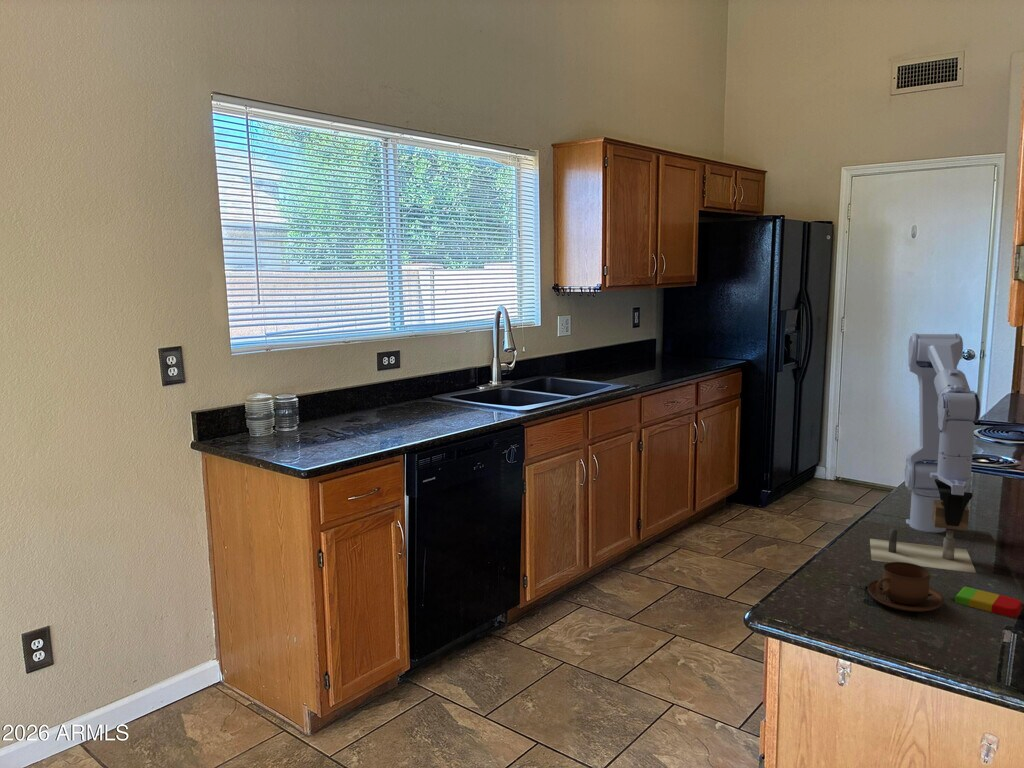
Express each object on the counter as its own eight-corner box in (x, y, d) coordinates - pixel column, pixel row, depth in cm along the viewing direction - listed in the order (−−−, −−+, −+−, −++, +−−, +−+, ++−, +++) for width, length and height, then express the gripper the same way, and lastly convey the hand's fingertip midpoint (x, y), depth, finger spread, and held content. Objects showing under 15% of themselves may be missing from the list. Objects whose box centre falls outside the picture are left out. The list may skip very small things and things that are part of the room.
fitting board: (869, 543, 164) (871, 513, 163) (966, 554, 156) (968, 523, 156) (871, 564, 152) (872, 533, 151) (975, 577, 145) (978, 545, 144)
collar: (931, 518, 155) (933, 499, 154) (963, 521, 152) (965, 502, 152) (934, 527, 150) (936, 507, 149) (967, 530, 147) (969, 510, 147)
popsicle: (1016, 620, 128) (1017, 610, 128) (919, 596, 138) (919, 586, 138) (1023, 610, 132) (1024, 599, 132) (928, 586, 142) (928, 577, 142)
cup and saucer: (922, 624, 127) (924, 589, 126) (853, 600, 137) (855, 567, 136) (956, 605, 134) (958, 571, 133) (888, 583, 143) (890, 552, 143)
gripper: (928, 443, 157) (924, 507, 159) (935, 460, 144) (931, 529, 146) (968, 446, 154) (963, 511, 156) (979, 463, 141) (973, 534, 143)
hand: (950, 520), depth 151 cm, fingers closed on collar, 6 cm apart
